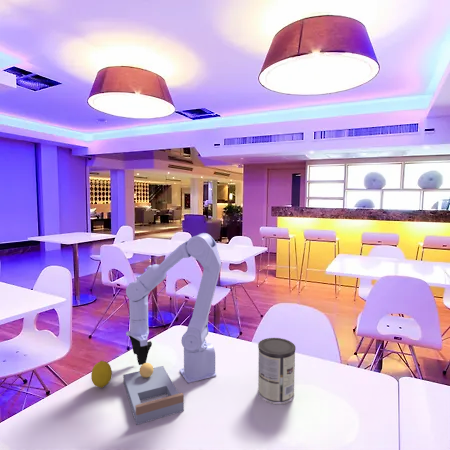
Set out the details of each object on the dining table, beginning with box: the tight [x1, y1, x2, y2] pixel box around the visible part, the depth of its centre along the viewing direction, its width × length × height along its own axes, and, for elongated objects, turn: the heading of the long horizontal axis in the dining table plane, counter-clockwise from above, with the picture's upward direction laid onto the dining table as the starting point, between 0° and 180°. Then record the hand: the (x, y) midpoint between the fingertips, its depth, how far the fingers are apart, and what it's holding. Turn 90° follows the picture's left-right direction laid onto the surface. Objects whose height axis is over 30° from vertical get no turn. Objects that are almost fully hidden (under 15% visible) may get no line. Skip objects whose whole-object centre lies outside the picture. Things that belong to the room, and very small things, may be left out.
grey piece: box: [122, 365, 185, 425], centre depth 89 cm, size 12×20×4 cm, turn 26°
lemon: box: [90, 360, 113, 389], centre depth 93 cm, size 6×6×8 cm
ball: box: [139, 362, 154, 378], centre depth 95 cm, size 4×4×4 cm
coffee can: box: [257, 337, 296, 405], centre depth 91 cm, size 10×10×14 cm
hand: (139, 358), depth 104 cm, fingers open, 7 cm apart
